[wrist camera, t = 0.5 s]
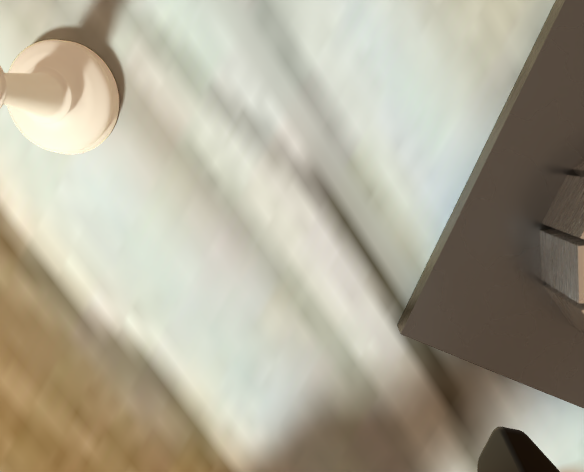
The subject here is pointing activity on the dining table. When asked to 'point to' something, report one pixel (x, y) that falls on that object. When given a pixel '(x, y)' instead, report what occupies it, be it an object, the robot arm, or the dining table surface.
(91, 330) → the dining table surface
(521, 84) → the lens mount
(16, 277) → the dining table surface
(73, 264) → the dining table surface
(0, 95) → the chess piece
